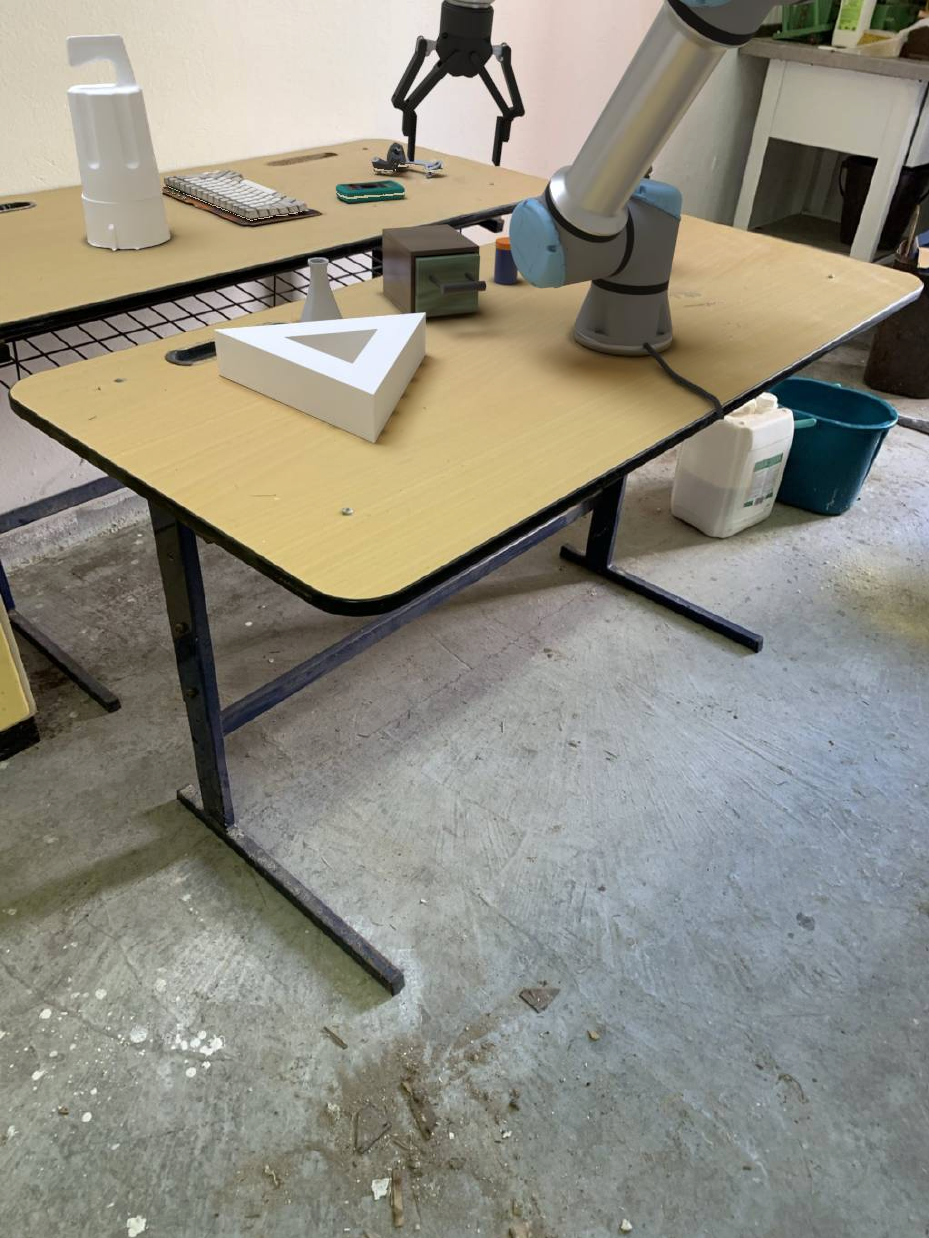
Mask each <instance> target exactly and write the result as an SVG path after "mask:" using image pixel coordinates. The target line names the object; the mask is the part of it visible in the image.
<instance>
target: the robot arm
mask: <svg viewBox="0 0 929 1238" xmlns="http://www.w3.org/2000/svg"><path fill="white" fill-rule="evenodd" d="M662 1H663V4H662V6H661V7H660V9H659V11H658V13H657V14H656V16H655V18H654V19H653V21H652V23H651V24H650V27H649V28H648V30H647V32H646V34H645V35H644V36H643V39H642V41H641V42H640V45H639V46H638V48H637V50H636V52H635V53H634V55H633V56H632V59H631V60H630V62H629V64H628V65H627V67H626V69H625V70H624V73H623V74H622V76H621V78H620V80H619V81H618V82H617V83H618V84H617V85H616V86H615V88H614V90H613V91H612V94H611V96H610V97H609V99H608V101H607V102H606V105H605V106H604V108H603V109H602V111H601V113H600V115H599V117H598V118H597V120H596V122H595V124H594V125H593V127H592V129H591V131H590V132H589V134H588V136H587V138H586V140H585V141H584V143H583V145H582V147H581V148H580V150H579V152H578V154H577V155H576V157H575V159H574V160H573V163H572V164H570V165H569V164H568V165H565V166H562V167H560V168H558V169H557V170H555V172H554V173H553V175H552V176H551V177H550V180H549V181H548V183H547V185H546V186H545V189H544V190H543V192H542V194H540V196H539V197H537V198H534V197H528V198H526V199H524V200H523V201H520V202H519V203H518V204H517V205H516V206H515V208H514V209H513V211H512V213H511V216H510V221H509V225H508V226H509V227H508V237H509V240H510V247H511V253H512V256H513V259H514V262H515V265H516V267H517V269H518V272H519V274H520V275H521V277H522V279H524V281H525V282H527V283H528V284H529V285H530V286H532V287H534V288H538V289H550V288H551V289H552V288H553V289H558V288H562V287H565V286H569V285H574V284H580V283H584V282H590V286H589V289H588V291H587V293H586V296H585V298H584V300H583V303H582V305H581V307H580V309H579V311H578V313H577V315H576V318H575V321H574V326H573V338H574V339H575V340H576V341H577V342H578V343H579V344H581V345H582V346H583V347H586V348H588V349H591V350H594V351H597V352H600V353H604V354H608V355H609V354H610V355H616V356H627V357H634V356H635V357H640V356H641V357H643V356H651V357H652V358H653V359H654V360H655V361H656V362H657V364H659V366H660V367H661V368H662V370H663V371H664V372H665V373H666V374H667V375H668V376H669V377H670V378H671V379H673V380H674V381H676V382H677V383H679V384H680V385H682V386H684V387H686V388H688V389H690V390H691V391H693V392H695V393H696V394H698V395H700V396H701V397H703V398H704V399H706V400H708V401H710V402H712V404H713V406H714V409H715V412H716V416H717V419H718V420H721V421H724V420H725V415H724V414H725V413H724V410H723V406H722V403H721V402H720V400H719V399H718V397H717V396H716V395H714V394H713V393H710V392H708V391H707V390H706V389H704V388H703V387H701V386H699V385H697V384H695V383H693V382H691V381H690V380H688V379H686V378H684V377H683V376H680V375H679V374H678V373H676V372H675V371H674V370H673V369H672V368H671V367H670V366H669V365H668V363H667V362H666V361H665V360H664V358H662V356H661V355H660V353H661V352H664V351H666V350H667V349H669V348H670V347H671V344H672V340H673V335H674V334H673V331H674V330H673V321H672V315H671V308H670V301H669V295H668V294H669V293H668V292H669V285H670V279H671V274H672V268H673V264H674V263H673V262H674V258H675V251H676V245H677V239H678V235H679V231H680V230H679V229H680V223H681V222H682V216H681V213H682V205H683V195H682V193H681V191H680V189H678V187H676V186H674V185H672V184H669V183H666V182H663V181H659V180H656V179H652V178H650V179H646V178H643V177H644V175H645V174H646V172H647V171H648V169H649V168H650V166H651V165H652V166H653V163H654V162H655V160H656V159H657V158H658V156H659V154H660V153H661V151H662V150H663V148H664V147H665V145H666V144H667V142H668V140H670V137H671V136H672V135H673V133H674V132H675V130H676V128H677V127H678V125H679V124H680V122H681V121H682V120H683V118H684V116H685V115H686V114H687V112H688V111H689V109H690V107H691V106H692V104H693V103H694V102H695V100H696V98H697V97H698V95H699V94H700V92H701V90H703V88H704V86H705V85H706V83H707V82H708V80H709V78H710V77H711V75H712V74H713V72H714V71H715V69H716V68H717V66H718V65H719V64H720V62H721V60H722V59H723V57H724V56H725V55H726V54H727V51H728V50H732V49H739V48H742V47H745V46H746V45H748V44H749V43H750V42H751V41H752V39H753V38H754V36H755V35H756V33H757V32H758V30H759V28H760V27H761V26H762V25H763V23H764V21H766V18H767V17H768V16H769V14H770V13H771V11H772V10H773V8H774V7H776V6H799V5H808V4H810V3H814V2H818V0H662ZM495 2H496V0H442V2H441V4H440V16H439V18H440V19H439V31H438V37H437V39H436V40H434V39H429V38H426V37H425V36H423V35H418V36H417V37H416V41H415V46H414V47H415V48H414V53H413V55H412V56H411V59H410V61H409V62H408V64H407V66H406V68H405V71H404V72H403V74H402V76H401V78H400V80H399V81H398V83H397V86H396V88H395V90H394V91H393V94H392V96H391V98H390V101H391V104H392V106H393V108H394V109H396V110H399V111H401V112H402V115H401V117H402V118H401V132H402V136H403V137H406V138H407V150H406V153H407V154H406V158H408V159H409V162H414V159H416V158H415V156H416V143H417V142H416V140H417V126H418V115H417V112H416V109H417V108H418V106H420V104H421V103H422V102H423V101H424V99H425V98H426V97H427V96H428V95H429V94H430V93H431V92H432V90H433V89H434V88H435V87H436V86H437V85H438V83H440V82H441V81H442V80H443V79H445V77H446V76H447V75H450V76H451V77H452V78H453V77H454V78H459V77H465V78H468V79H474V78H475V77H476V76H479V78H480V79H481V81H482V83H483V84H484V86H485V88H486V89H487V91H488V93H489V94H490V96H491V97H492V99H493V101H494V102H495V104H496V106H497V108H498V109H499V111H500V112H501V114H502V115H496V119H495V120H496V122H495V130H494V137H493V146H492V155H491V162H492V164H493V165H494V167H501V160H502V152H503V143H509V141H510V139H511V131H512V123H513V122H514V120H515V119H516V118H518V117H521V118H522V117H524V116H525V114H526V110H525V106H524V103H523V99H522V96H521V92H520V89H519V85H518V83H517V82H518V81H517V79H516V76H515V72H514V68H513V66H512V48H511V47H510V45H509V44H508V43H507V42H501V43H500V44H492V33H493V23H494V14H495V9H494V7H493V5H491V4H493V3H495ZM433 51H435V52H436V54H437V56H438V58H439V59H438V60H437V61H436V62H435V64H434V65H433V66H432V69H431V70H430V71H429V72H428V73H427V74H426V76H425V77H424V78H423V79H422V80H421V81H420V83H418V85H417V86H416V87H415V88H414V90H413V91H412V92H411V93H410V94H409V95H408V93H409V92H410V89H411V88H412V85H413V83H414V82H415V80H416V78H417V76H418V74H419V73H420V70H421V68H422V67H423V65H424V62H425V59H426V58H428V57H429V56H430V55H431V53H432V52H433ZM493 55H494V56H495V57H494V58H495V60H496V61H497V62H498V63H500V68H501V70H502V74H503V77H504V81H505V84H506V87H507V91H508V93H509V97H510V101H511V104H512V106H510V107H509V106H508V104H507V102H506V100H505V99H504V97H503V95H502V93H501V92H500V90H499V89H498V87H497V84H495V82H494V80H493V78H492V76H491V75H490V73H489V71H488V69H487V68H486V65H487V63H488V62H489V60H490V59H491V58H492V57H493ZM407 95H408V96H407ZM406 97H407V98H406Z"/></svg>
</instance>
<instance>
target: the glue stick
mask: <svg viewBox="0 0 929 1238" xmlns="http://www.w3.org/2000/svg"><path fill="white" fill-rule="evenodd" d="M494 245H495V251H494V270H493V282H494V283H496V284H499V285H514V284H517V283H518V275H519V273H518V272H519V271H518V269H517V267H516V265H515V262H514V259H513V256H512V253H511V247H510V240H509V236H503V237H498V238H496V239H495V244H494Z"/></svg>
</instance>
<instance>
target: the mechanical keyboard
mask: <svg viewBox="0 0 929 1238" xmlns="http://www.w3.org/2000/svg"><path fill="white" fill-rule="evenodd" d="M163 184H165V185H164V186H162V193H164V194H166V195H169V196H170V197H173V198H175V199H178V200H180V201H181V202H185V203H188V204H193V205H194V207H196V208H199V209H201V210H204V211H208V212H211V213H214V215H218V216H220V217H221V218H223V219H224V218H225V219H227V220H229V221H230V222H231V221H232V222H234V223H236V224H239V225H242V226H247V225H248V226H259V225H264V224H271V223H278V222H282V221H283V222H284V221H291V220H296V219H303V218H309V217H317V216H321V215H323V213H322V212H320V211H319V210H316V209H313V208H312V209H311V208H309V207H308V206H307V203H306V202H305V201H302V200H300V199H296V198H294V197H291V196H287V195H286V194H284V193H281V192H277V190H275V189H272V188H269V187H267V186H265V185H263V184H259V183H257V182H254V181H251V180H248V179H245V178H244V177H243V174H242V173H240V172H236V171H235V170H231V169H230V168H225V169H223V170H219V169H216V170H214V171H212V172H211V171H205V172H203V173H199V172H197V173H191V174H189V173H188V174H184V175H182V174H174V175H173V176H171V175H165V176H163ZM166 186H167V187H166ZM168 186H169V187H171V188H173V189H171V188H169V187H168ZM174 189H176V190H178V191H176V190H174ZM167 191H169V192H167ZM179 191H180V192H179ZM172 193H173V194H172ZM174 193H175V194H174ZM183 193H184V194H183ZM186 194H187V195H191V196H193V197H196V198H199V199H200V200H203V201H205V202H207V203H205V202H203V201H200V200H198V199H195V198H193V197H190V196H187V195H186ZM178 195H180V196H178ZM183 197H184V198H185V197H186V198H185V199H184V198H183ZM208 203H210V204H212V205H216V206H218V207H221V208H222V209H225V210H228V211H229V212H228V211H225V210H222V209H221V208H217V207H216V206H212V205H210V204H208ZM305 210H309V211H305ZM300 211H302V212H300ZM230 212H231V213H230ZM294 212H298V213H296V214H289V213H294ZM233 213H234V214H233ZM235 214H236V215H235ZM286 214H288V215H286ZM237 215H240V216H242V217H245V218H242V217H240V216H237ZM276 215H286V216H276ZM269 216H273V217H270V218H264V217H269ZM246 218H247V219H250V220H253V221H250V220H247V219H246ZM258 218H264V219H258ZM254 219H257V220H254Z"/></svg>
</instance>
